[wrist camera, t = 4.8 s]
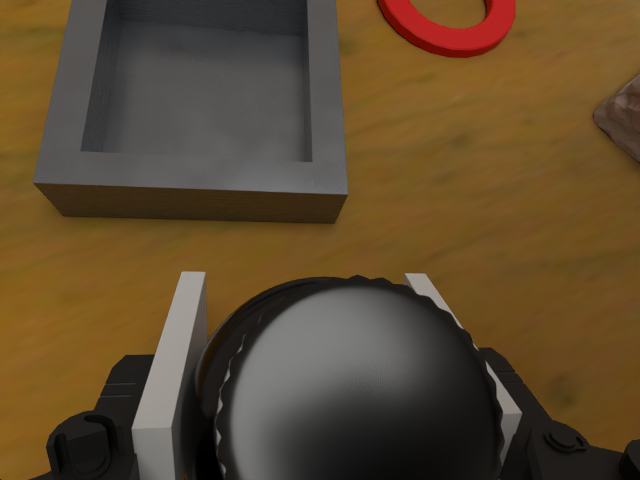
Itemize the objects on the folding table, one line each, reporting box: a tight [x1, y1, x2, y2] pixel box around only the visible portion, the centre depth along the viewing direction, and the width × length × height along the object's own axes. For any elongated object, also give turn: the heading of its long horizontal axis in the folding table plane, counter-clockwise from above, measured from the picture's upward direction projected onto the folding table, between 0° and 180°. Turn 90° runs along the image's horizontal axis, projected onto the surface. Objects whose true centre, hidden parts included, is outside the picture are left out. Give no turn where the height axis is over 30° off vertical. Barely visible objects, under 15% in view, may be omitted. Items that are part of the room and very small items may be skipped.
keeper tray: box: [33, 0, 348, 223], centre depth 22 cm, size 12×12×3 cm
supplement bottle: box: [181, 275, 505, 480], centre depth 13 cm, size 7×7×12 cm
